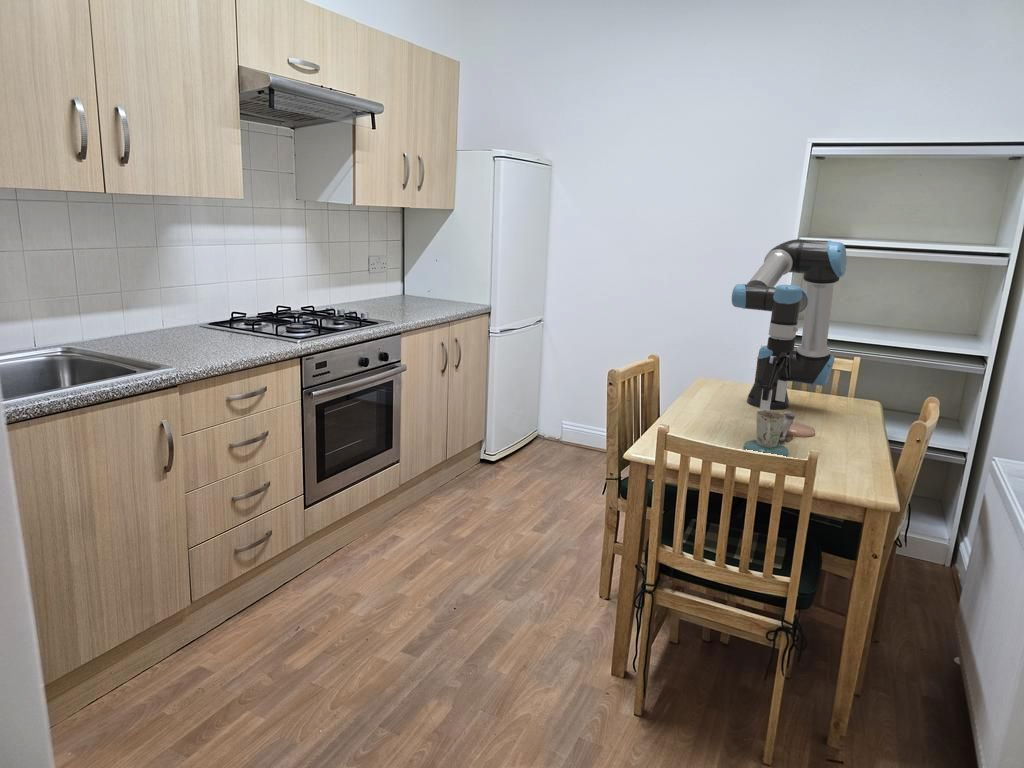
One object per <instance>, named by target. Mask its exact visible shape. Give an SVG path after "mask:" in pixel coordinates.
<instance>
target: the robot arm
mask: <svg viewBox="0 0 1024 768" xmlns="http://www.w3.org/2000/svg"><path fill="white" fill-rule="evenodd" d="M846 267H847V250H846V246H845V244H844V243H843V242H840V241H832V240H819V239H818V240H817V239H816V240H815V239H791V240H787V241H785V242H783V243H780V244H777V245H776V246H774V247H773V248H772V249H770V250H769V251H768V252H767V254H765V257H764V261H763V263H762V265H761V266H760V268H758V270H757V271H756V272H755V274H753V276H752V278H750V280H749V281H748V282H747V283H738V284H735V286H734V287H733V288H732V293H731V304H732V306H733V307H735V308H740V309H743V310H744V309H746V310H753V311H754V310H755V311H764V312H771V317H770V323H769V330H768V335H769V337H768V338H767V344H766V345H764V346H761V347H760V348H759V350H758V354H757V357H756V359H757V361H756V369H755V374H754V375H755V376H754V382H753V385H752V386H751V389H750V390H749V393H748V395H747V398H746V399H747V400H746V401H747V403H748V404H750V405H751V406H754V407H758V408H759V411H771V410H783V409H787V408H788V407H789V403H790V401H789V400H790V399H789V395H788V390H787V388H788V382H792V383H793V382H794V383H800V384H805V385H811V386H819V387H823V386H825V385H826V384H827V383H828V381H829V378H830V376H831V373H832V370H833V367H834V363H835V359H836V357H835V356H834V355H831V349H830V347H828V346H827V344H828V338H829V337H828V336H829V329H830V321H831V311H832V302H833V294H834V287H835V284H837V283H838V282H839V281H840V278H842V277H844V276H845V273H846V269H847V268H846ZM788 273H795V274H796V273H797V274H803V276H802V277H803V278H802V279H803V281H804V282H805V283H806V285H807V287H806V291H805V290H804V289H802V287H801V286H798V285H793V284H777V283H779V281H780V279H782V277H783V276H784V275H787V274H788ZM803 311H804V314H803V315H804V316H803V322H802V323H803V324H802V326H803V327H802V335H801V344H799V346H797V347H796V350H794V349H795V343H796V340H795V339H794V338H796V335H797V332H798V331H799V328H797V327H798V321H799V320H798V319H799V315H800V313H801V312H803Z"/></svg>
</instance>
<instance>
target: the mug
mask: <svg viewBox="0 0 1024 768" xmlns="http://www.w3.org/2000/svg"><path fill="white" fill-rule="evenodd" d="M784 420H785V415H784V413H781V412H778V411H773V410H770V411H765V410H759V411H757V412H756V440H757V444H758V445H759V446H762V447H767V448H774V447H776V446H777V444H779V437H780V433H781V430H782V427H783V423H784Z"/></svg>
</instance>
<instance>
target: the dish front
mask: <svg viewBox="0 0 1024 768" xmlns="http://www.w3.org/2000/svg"><path fill="white" fill-rule="evenodd" d="M743 444H744V445H743V449H744V450H745V449H747V450H753V451H758V452H763V453H771V454H777V455H783V456H786V457H787V456H789V449H788V447H786V446H785V445H783V444H781V443H778V444H777V446H776V447H774V448H767V447H762V446H759V445H758V444H757V439H751V440H747V441H746V442H744V443H743Z"/></svg>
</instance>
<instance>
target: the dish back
mask: <svg viewBox="0 0 1024 768" xmlns="http://www.w3.org/2000/svg"><path fill="white" fill-rule="evenodd" d="M788 435H790V436H793V437H797V438H810V437H814V436H815V435H816V429H815V428H814V427H813V426H810V425H807V424H804V423H799V422H794V421H793V422H792V424H791V426H790V428H789V431H788Z"/></svg>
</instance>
